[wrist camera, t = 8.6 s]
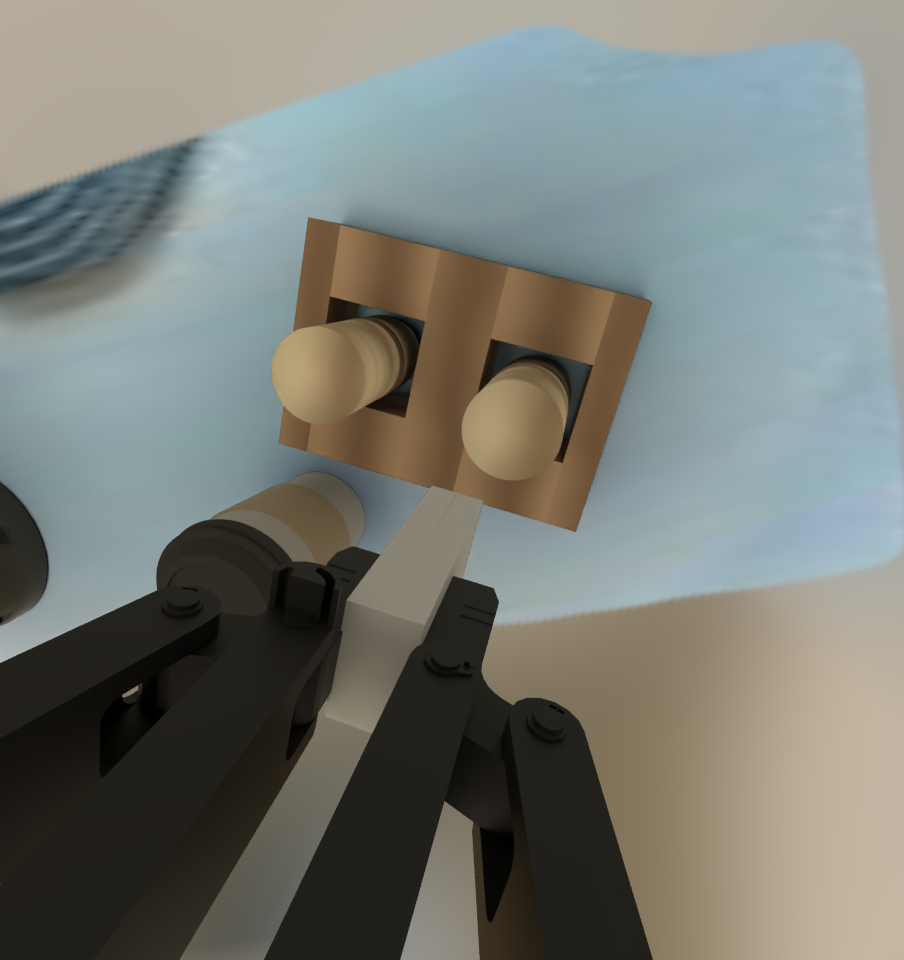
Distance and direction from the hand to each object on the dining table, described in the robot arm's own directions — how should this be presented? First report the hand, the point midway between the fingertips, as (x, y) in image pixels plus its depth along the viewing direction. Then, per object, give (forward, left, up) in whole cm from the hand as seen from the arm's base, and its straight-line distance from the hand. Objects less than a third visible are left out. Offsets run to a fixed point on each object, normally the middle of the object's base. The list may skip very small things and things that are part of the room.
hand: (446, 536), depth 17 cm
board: (-5, 0, -25) cm, 26 cm away
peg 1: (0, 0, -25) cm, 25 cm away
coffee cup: (-13, -14, -25) cm, 31 cm away
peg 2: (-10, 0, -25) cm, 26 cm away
